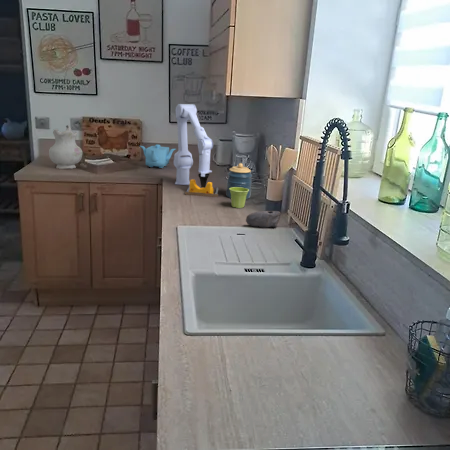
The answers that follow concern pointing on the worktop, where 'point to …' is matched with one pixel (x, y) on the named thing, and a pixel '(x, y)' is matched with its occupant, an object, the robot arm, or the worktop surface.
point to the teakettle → (157, 155)
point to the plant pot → (238, 196)
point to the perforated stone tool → (263, 218)
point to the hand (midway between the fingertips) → (203, 187)
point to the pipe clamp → (201, 190)
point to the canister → (239, 179)
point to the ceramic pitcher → (65, 149)
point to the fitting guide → (201, 193)
